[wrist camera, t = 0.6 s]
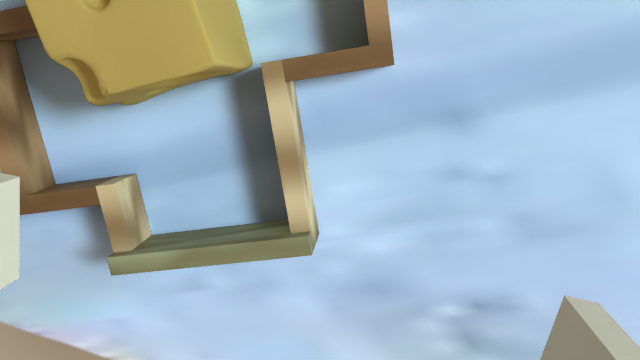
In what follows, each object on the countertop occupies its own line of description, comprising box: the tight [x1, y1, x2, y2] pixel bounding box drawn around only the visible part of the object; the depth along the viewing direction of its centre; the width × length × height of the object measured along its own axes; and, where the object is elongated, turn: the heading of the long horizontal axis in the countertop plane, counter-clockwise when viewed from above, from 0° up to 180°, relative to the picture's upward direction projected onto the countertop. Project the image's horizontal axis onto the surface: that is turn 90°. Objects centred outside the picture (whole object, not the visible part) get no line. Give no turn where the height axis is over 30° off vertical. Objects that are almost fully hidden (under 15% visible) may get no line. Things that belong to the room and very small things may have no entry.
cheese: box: [25, 0, 253, 106], centre depth 30 cm, size 10×11×10 cm
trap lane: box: [0, 0, 394, 276], centre depth 34 cm, size 28×31×4 cm
